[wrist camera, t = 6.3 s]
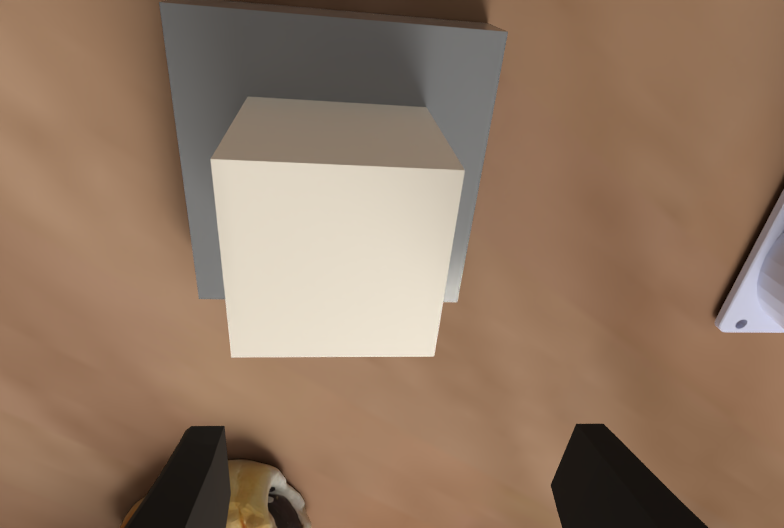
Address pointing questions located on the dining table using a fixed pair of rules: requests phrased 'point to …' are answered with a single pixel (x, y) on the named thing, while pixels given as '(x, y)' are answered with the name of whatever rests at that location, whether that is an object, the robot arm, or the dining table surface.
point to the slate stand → (322, 89)
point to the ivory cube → (334, 228)
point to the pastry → (258, 498)
